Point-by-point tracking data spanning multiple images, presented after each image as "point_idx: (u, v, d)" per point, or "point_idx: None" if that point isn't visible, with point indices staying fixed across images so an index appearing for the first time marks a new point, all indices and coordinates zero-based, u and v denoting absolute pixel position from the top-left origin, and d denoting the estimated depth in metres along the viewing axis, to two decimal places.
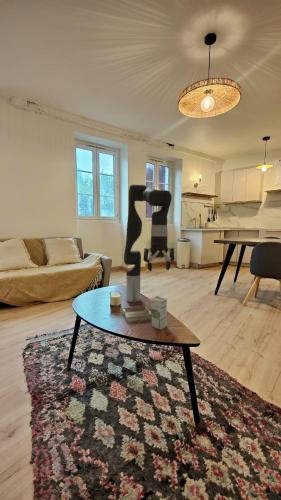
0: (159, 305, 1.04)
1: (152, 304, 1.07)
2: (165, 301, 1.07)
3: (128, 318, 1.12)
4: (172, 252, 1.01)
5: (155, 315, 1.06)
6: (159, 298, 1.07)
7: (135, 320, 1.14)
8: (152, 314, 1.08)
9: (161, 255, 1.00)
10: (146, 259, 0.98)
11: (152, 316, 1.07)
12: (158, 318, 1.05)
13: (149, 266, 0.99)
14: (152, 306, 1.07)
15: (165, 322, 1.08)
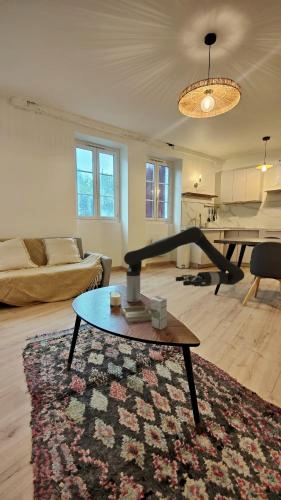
0: (159, 305, 1.04)
1: (152, 304, 1.07)
2: (165, 301, 1.07)
3: (128, 318, 1.12)
4: (188, 279, 1.18)
5: (155, 315, 1.06)
6: (159, 298, 1.07)
7: (135, 320, 1.14)
8: (152, 314, 1.08)
9: None
10: None
11: (152, 316, 1.07)
12: (158, 318, 1.05)
13: (188, 284, 1.05)
14: (152, 306, 1.07)
15: (165, 322, 1.08)
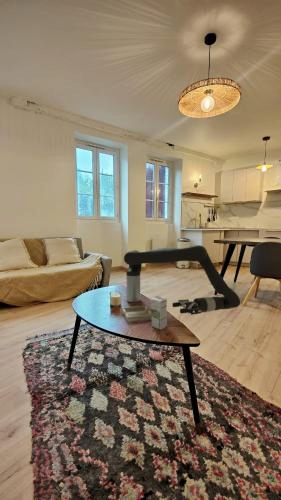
0: (159, 305, 1.04)
1: (152, 304, 1.07)
2: (165, 301, 1.07)
3: (128, 318, 1.12)
4: None
5: (155, 315, 1.06)
6: (159, 298, 1.07)
7: (135, 320, 1.14)
8: (152, 314, 1.08)
9: None
10: None
11: (152, 316, 1.07)
12: (158, 318, 1.05)
13: (184, 312, 1.07)
14: (152, 306, 1.07)
15: (165, 322, 1.08)
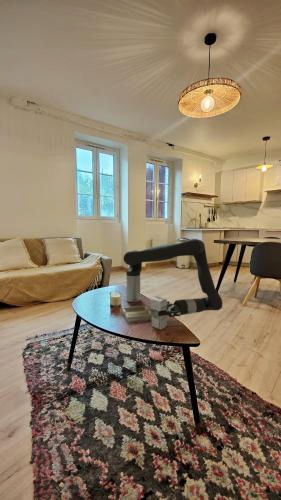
0: (159, 305, 1.04)
1: (152, 304, 1.07)
2: (165, 301, 1.07)
3: (128, 318, 1.12)
4: None
5: (155, 315, 1.06)
6: (159, 298, 1.07)
7: (135, 320, 1.14)
8: (151, 314, 1.08)
9: None
10: None
11: (152, 316, 1.07)
12: (158, 318, 1.05)
13: (163, 315, 1.04)
14: (152, 306, 1.07)
15: (165, 322, 1.08)
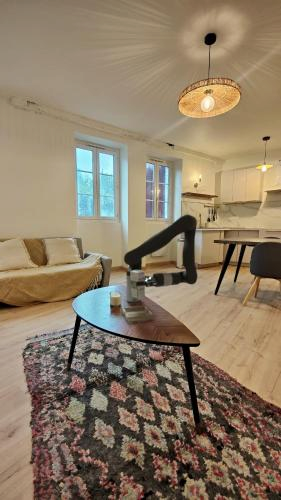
0: (137, 276, 1.14)
1: (131, 276, 1.17)
2: (143, 273, 1.17)
3: (128, 318, 1.12)
4: None
5: (133, 286, 1.17)
6: (137, 271, 1.17)
7: (135, 320, 1.14)
8: (131, 286, 1.18)
9: None
10: None
11: (131, 287, 1.18)
12: (136, 288, 1.15)
13: (140, 285, 1.14)
14: (131, 278, 1.17)
15: (143, 293, 1.18)
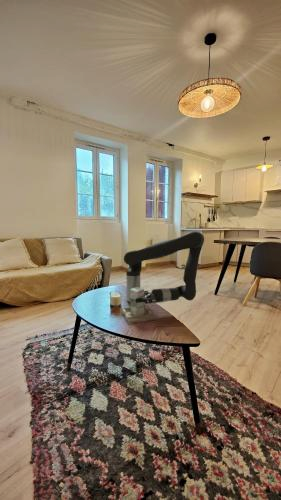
0: (136, 295, 1.16)
1: (131, 294, 1.19)
2: (142, 291, 1.19)
3: (128, 318, 1.12)
4: None
5: (133, 304, 1.18)
6: (137, 289, 1.19)
7: (135, 320, 1.14)
8: (130, 303, 1.20)
9: None
10: None
11: (131, 305, 1.20)
12: (136, 306, 1.17)
13: None
14: (131, 296, 1.19)
15: (143, 310, 1.20)
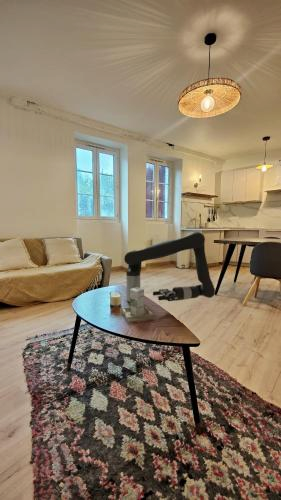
0: (136, 295, 1.16)
1: (131, 294, 1.19)
2: (142, 291, 1.19)
3: (128, 318, 1.12)
4: (164, 293, 1.31)
5: (133, 304, 1.18)
6: (137, 289, 1.19)
7: (135, 320, 1.14)
8: (130, 303, 1.20)
9: None
10: None
11: (131, 305, 1.20)
12: (136, 306, 1.17)
13: (162, 299, 1.19)
14: (131, 296, 1.19)
15: (143, 310, 1.20)
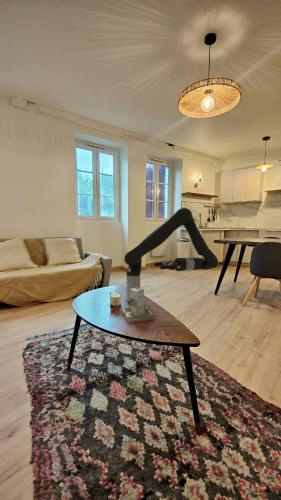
0: (136, 295, 1.16)
1: (131, 294, 1.19)
2: (142, 291, 1.19)
3: (128, 318, 1.12)
4: (166, 265, 1.28)
5: (133, 304, 1.18)
6: (137, 289, 1.19)
7: (135, 320, 1.14)
8: (130, 303, 1.20)
9: None
10: None
11: (131, 305, 1.20)
12: (136, 306, 1.17)
13: (164, 268, 1.15)
14: (131, 296, 1.19)
15: (143, 310, 1.20)
